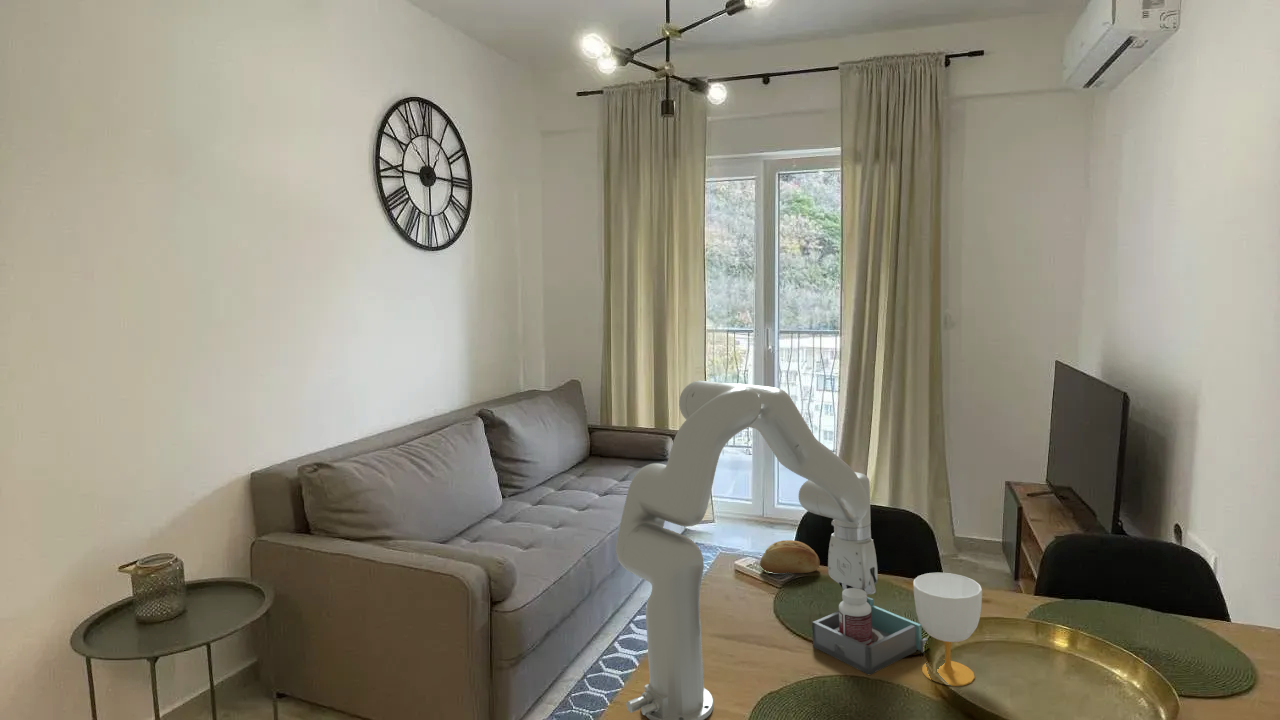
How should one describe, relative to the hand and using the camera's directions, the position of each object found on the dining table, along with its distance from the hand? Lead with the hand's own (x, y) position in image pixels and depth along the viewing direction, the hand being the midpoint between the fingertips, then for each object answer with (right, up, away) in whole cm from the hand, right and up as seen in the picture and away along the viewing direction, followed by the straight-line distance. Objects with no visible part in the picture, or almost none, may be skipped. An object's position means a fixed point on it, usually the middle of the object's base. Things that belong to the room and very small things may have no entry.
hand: (854, 613), depth 159 cm
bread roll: (-8, 0, +28) cm, 29 cm away
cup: (+11, -4, -22) cm, 25 cm away
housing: (0, -3, -11) cm, 12 cm away
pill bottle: (-3, -2, -13) cm, 14 cm away
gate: (+5, -2, -8) cm, 9 cm away
